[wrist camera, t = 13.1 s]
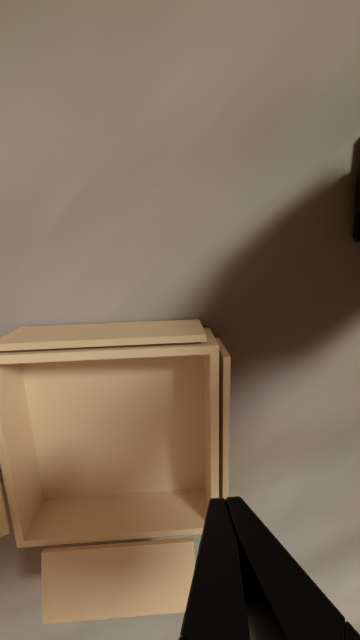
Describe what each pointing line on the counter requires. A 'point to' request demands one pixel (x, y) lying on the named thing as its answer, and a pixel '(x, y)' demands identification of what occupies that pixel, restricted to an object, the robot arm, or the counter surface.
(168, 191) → the counter surface
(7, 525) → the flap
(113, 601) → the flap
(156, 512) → the carton
